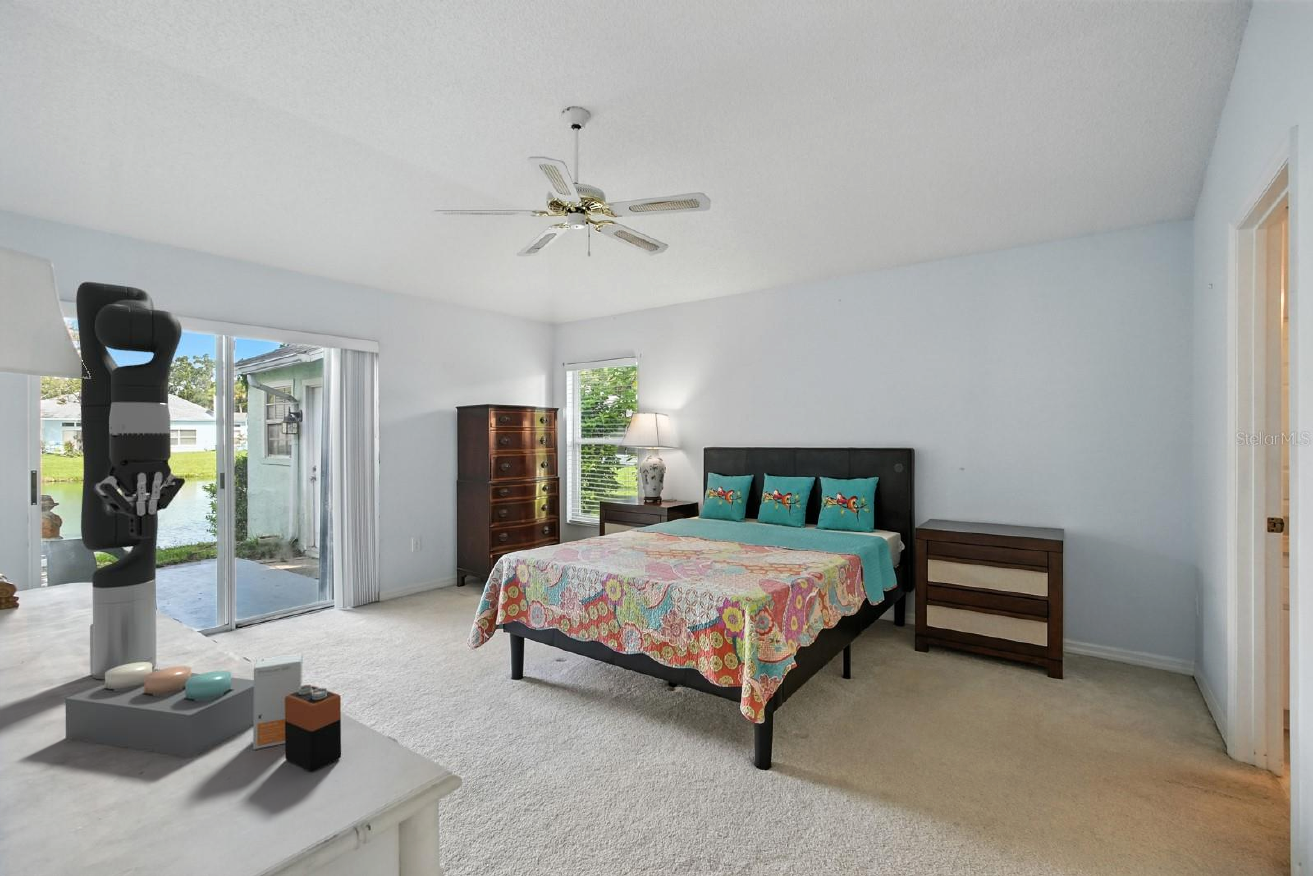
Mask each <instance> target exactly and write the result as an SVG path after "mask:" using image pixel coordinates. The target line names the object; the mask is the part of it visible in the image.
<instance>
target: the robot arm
mask: <svg viewBox="0 0 1313 876" xmlns="http://www.w3.org/2000/svg"><path fill="white" fill-rule="evenodd" d="M75 299H76V300H75V301H76V304H75V306H76V316H77V317H76V318H77V327H78V338H79V339H78V340H79V348H80V349H79V350H80V361H81V359H82V360H83V362H82V361H81V364H80V365H81V384H80V385H81V386H80V389H81V390H80V391H81V392H80V395H81V396H80V423H81V424H80V425H81V440H82V441H81V443H82V456H83V457H82V458H83V459H82V460H83V478H82V479H83V482H82V494H81V495H82V496H81V497H82V498H81V513H80V514H81V515H80V534H81V539H82V540H81V541H82V543H83V544H82V545H84V547H85V548H86V549H87V550H89V551H103V550H112V549H113V550H114V549H121V548H122V549H124V548H129V547H132V548H131V550H130V552H128V553H127V554H125V556H123V557H122V558H120V559H118V560H116V561H114V562H111V563H109V564H107V565H105V566H102V567H100V568H97V569H96V570H94V572H93V573H92V577H91V579H92V623H91V624H90V626H89V643H90V644H89V649H90V650H89V655H90V657H89V659H90V660H89V661H90V662H89V663H90V664H89V665H90V666H89V668H90V675H92V677H93V678H94V679H96V680H105V673H106V672H107V671H108V670H110V669H112V668H115V667H118V666H122V665H126V664H131V663H138V662H149V663H151V664H152V669H154V668H155V667H156V666H157V583H156V582H157V576H156V574H157V573H156V572H157V571H156V569H157V546H158V545H157V541H158V527H159V515H158V512H159V511H161V510H166V509H167V508H168V507H169V505H170V504H171V502H172V501H173V499H174V498H175V497H176V495H177V494H178V493H179V491H180V490H181V489H182V488H183V486H184V485H185V483H186V480H185V478H183V477H177V476H175V475H174V473H173V474H172V468H171V467H170V465H169V460H170V459H171V457H172V456H171V453H172V452H171V451H172V450H171V444H172V443H171V415H170V408H169V377H170V371H171V367H172V363H173V359H174V357H175V353H176V351H177V349H178V347H179V344H180V341H181V337H182V333H183V331H182V328H183V327H182V325H181V322H180V320H179V319H178V318H177V316H175V315H174V314H173V313H172V312H169V311H165V310H160V309H155V307H154V303H153V299H152V297H151V296H150V294H149V293H148V292H146V291H145V290H142V289H141V288H137V287H132V286H125V285H119V284H118V285H116V284H112V283H111V284H110V283H100V282H93V281H84V282H82V283H80V284H79V286H78V288H77V291H76V298H75ZM108 349H111V350H117V351H127V352H128V351H130V352H137V353H138V352H139V353H151V354H152V353H153V356H152V358H151V360H150V361H147V362H145V363H141V364H130V365H122V366H119V365H118V364H117V362H116V361H115V360H114V357H112V355H111V354H110V352H109V351H108ZM83 363H84V365H85V366H86V368H87V370H86V368H85V366H84V365H83ZM87 371H89V373H90V376H91V379H84V378H82V377H83V376H84V377H86V376H87V377H88V378H89V374H88V373H87ZM118 490H120V491H121V493H120V492H119V491H118Z"/></svg>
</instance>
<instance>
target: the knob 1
mask: <svg viewBox="0 0 1313 876" xmlns="http://www.w3.org/2000/svg"><path fill="white" fill-rule="evenodd" d="M152 669H153V668H152V664H151V663H149V662H138V663H131V664H126V665H122V666H118V667H115V668H112V669H110V670H108V671H107V672H106V673H105V679H104V680H105V681H104V684H105V687H106V688H109V689H114V691H119V692H126V691H128V690H131V689H134V688H136V687H139V686H142V685H144V678H145V676H146V675H148V674H150V673H152Z"/></svg>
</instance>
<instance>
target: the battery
mask: <svg viewBox="0 0 1313 876" xmlns="http://www.w3.org/2000/svg"><path fill="white" fill-rule="evenodd" d="M341 705H342V704H341V695H340V694H338V693H335V692H333V691H329V690H328V688H327V687H322V688H321V687H318V686H317V685H313V686H312V684H305V685H302V686H301V687H300V688H299V691H298V692H295V693H292V694H290V695H287V696H286V697H285V743H284V744H285V745H284V747H285V748H284V750H285V751H284V753H285V754H284V755H285V760H286V761H288V762H290V763H292V764H295V765H297V766H299V767H301V768H303V769H305V770H307V771H309V772H312V773H313V772H316V771H317V770H319V769H321V768H324V767H326V766H327V765H330V764H332V763H334V762H336V761H339V760H340V759H341V758H342V757H341V756H342V739H341V738H342V728H341V727H342V725H341V724H342V721H341V720H342V716H341V715H342V712H341V711H342V709H341ZM339 758H340V759H339ZM335 760H336V761H335Z"/></svg>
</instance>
